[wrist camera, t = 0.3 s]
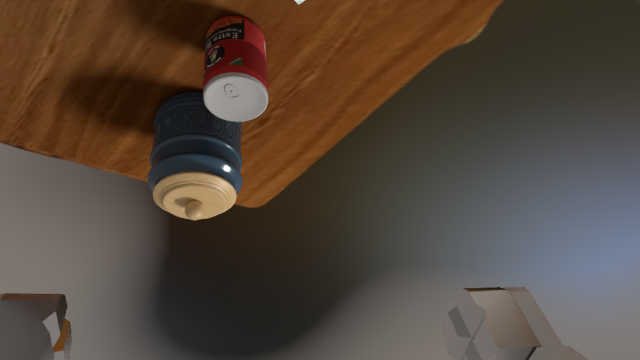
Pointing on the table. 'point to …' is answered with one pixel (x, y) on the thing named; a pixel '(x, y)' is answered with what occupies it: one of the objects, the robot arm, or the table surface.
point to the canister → (194, 158)
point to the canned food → (235, 69)
